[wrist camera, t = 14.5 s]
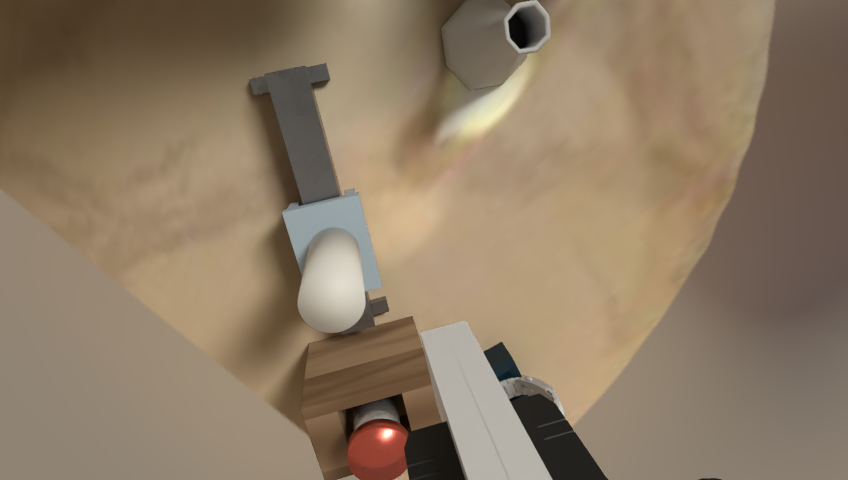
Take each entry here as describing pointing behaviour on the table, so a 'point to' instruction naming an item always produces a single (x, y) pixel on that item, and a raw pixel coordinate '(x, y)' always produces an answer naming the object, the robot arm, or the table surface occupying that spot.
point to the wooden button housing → (364, 386)
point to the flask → (492, 39)
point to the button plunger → (377, 441)
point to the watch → (517, 377)
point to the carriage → (332, 260)
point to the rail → (309, 147)
